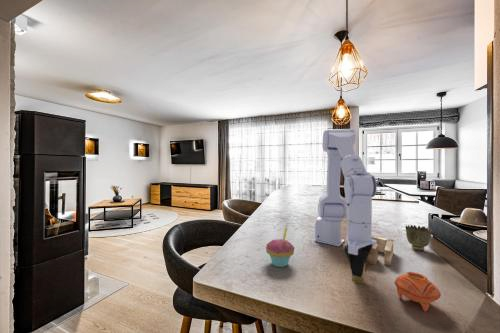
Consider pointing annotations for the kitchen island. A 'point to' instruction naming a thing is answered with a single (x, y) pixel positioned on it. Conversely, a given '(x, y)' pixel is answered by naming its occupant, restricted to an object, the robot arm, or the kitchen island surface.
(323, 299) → the kitchen island surface
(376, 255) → the tab block
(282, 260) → the cupcake
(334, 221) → the robot arm
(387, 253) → the beige blocky multi-part fixture
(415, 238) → the cup
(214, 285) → the kitchen island surface
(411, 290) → the orange ridged rounded piece
